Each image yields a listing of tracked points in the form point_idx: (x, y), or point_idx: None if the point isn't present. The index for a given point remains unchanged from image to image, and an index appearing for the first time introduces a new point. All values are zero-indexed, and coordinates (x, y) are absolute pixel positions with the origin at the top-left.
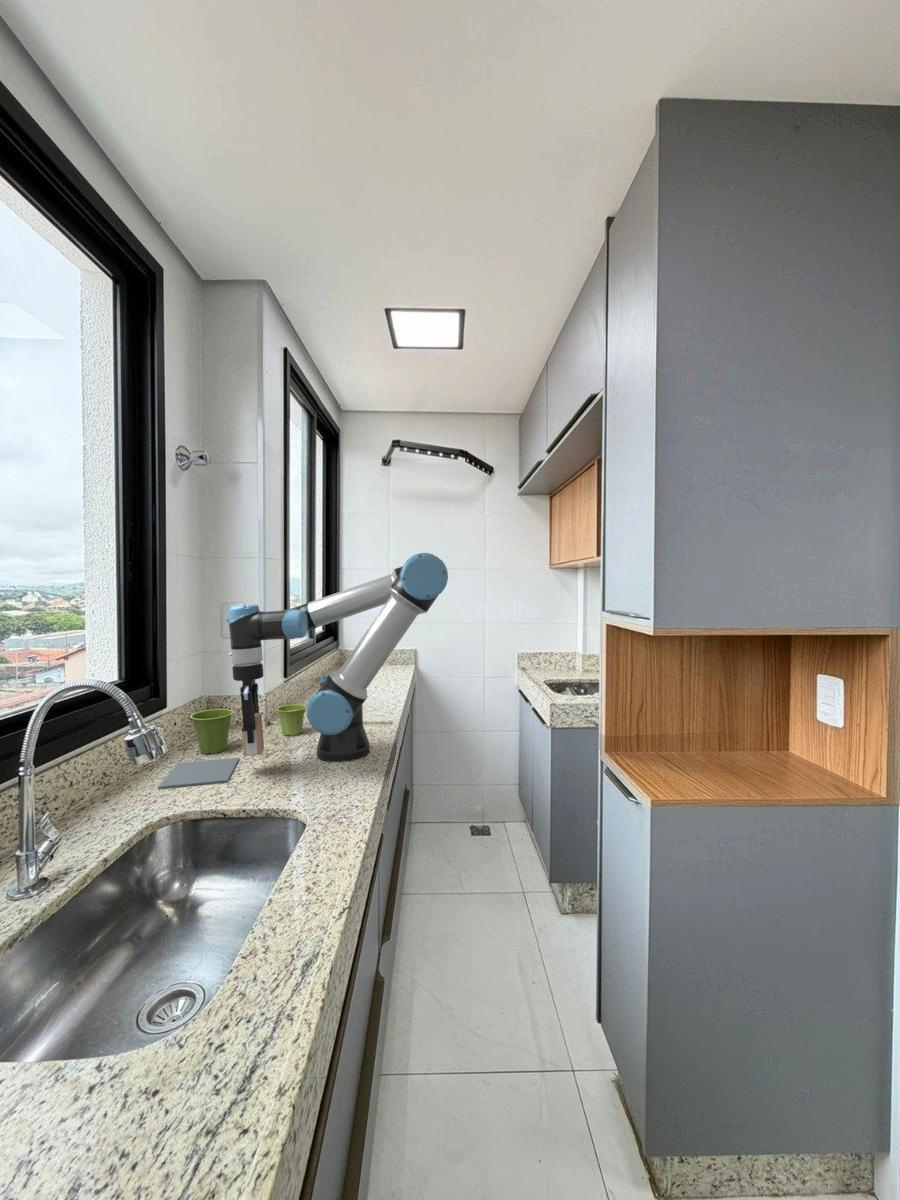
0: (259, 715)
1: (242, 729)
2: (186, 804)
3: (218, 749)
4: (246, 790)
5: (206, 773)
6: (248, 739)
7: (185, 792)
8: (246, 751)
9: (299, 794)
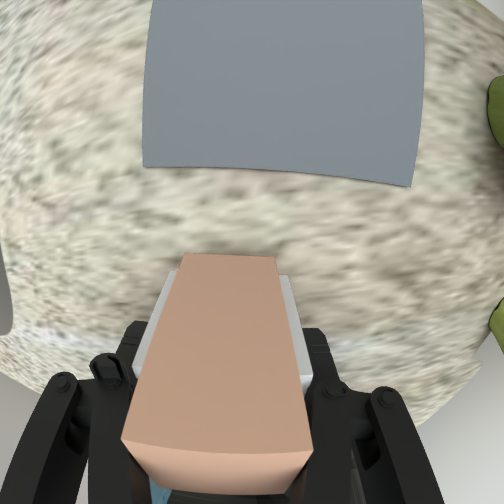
0: (189, 490)
1: (91, 367)
2: (19, 97)
3: (495, 125)
4: (75, 238)
5: (255, 67)
6: (124, 340)
7: (97, 47)
8: (166, 281)
9: (63, 342)
